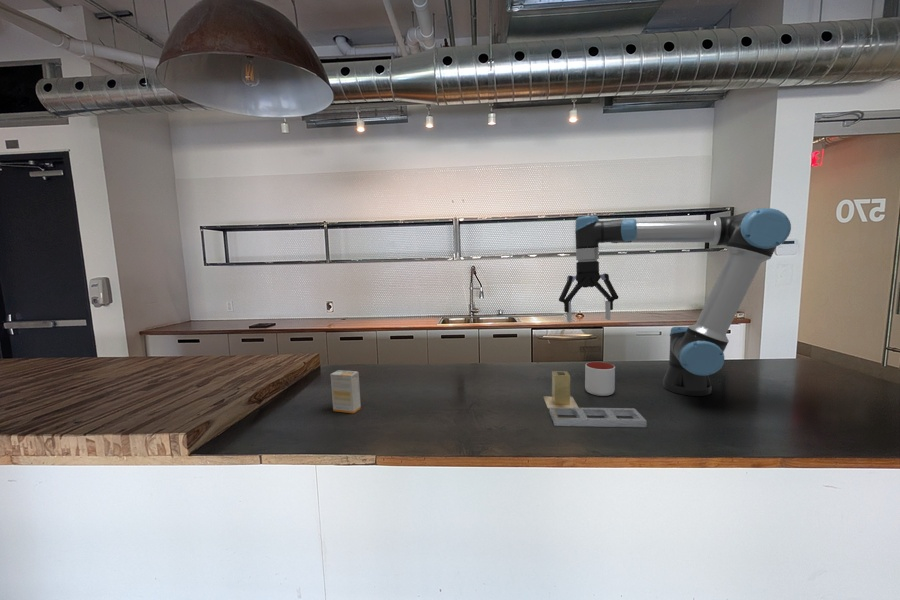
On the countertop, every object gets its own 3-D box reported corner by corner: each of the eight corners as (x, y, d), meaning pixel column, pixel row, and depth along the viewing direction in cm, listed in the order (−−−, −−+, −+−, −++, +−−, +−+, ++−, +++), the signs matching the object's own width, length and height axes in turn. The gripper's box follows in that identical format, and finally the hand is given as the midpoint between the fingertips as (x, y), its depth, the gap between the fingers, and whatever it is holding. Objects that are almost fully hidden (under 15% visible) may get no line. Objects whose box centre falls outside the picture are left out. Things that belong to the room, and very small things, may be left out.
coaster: (572, 397, 133) (572, 396, 133) (579, 409, 124) (579, 408, 123) (543, 397, 134) (543, 396, 134) (547, 408, 125) (547, 407, 124)
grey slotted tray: (634, 414, 119) (634, 408, 118) (646, 427, 110) (646, 420, 109) (549, 413, 121) (549, 407, 121) (554, 425, 112) (554, 419, 112)
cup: (617, 397, 132) (618, 370, 131) (587, 396, 134) (587, 369, 133) (611, 388, 142) (611, 362, 141) (583, 386, 144) (583, 361, 143)
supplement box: (361, 408, 129) (359, 371, 127) (353, 414, 124) (351, 375, 123) (340, 405, 132) (338, 369, 130) (332, 411, 127) (329, 373, 126)
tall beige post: (566, 399, 131) (566, 370, 130) (569, 404, 126) (570, 375, 125) (551, 399, 132) (552, 370, 130) (554, 404, 127) (554, 375, 125)
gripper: (619, 258, 137) (619, 316, 139) (549, 262, 138) (551, 320, 140) (628, 258, 129) (628, 320, 131) (554, 263, 130) (555, 323, 133)
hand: (588, 320), depth 136 cm, fingers open, 13 cm apart
